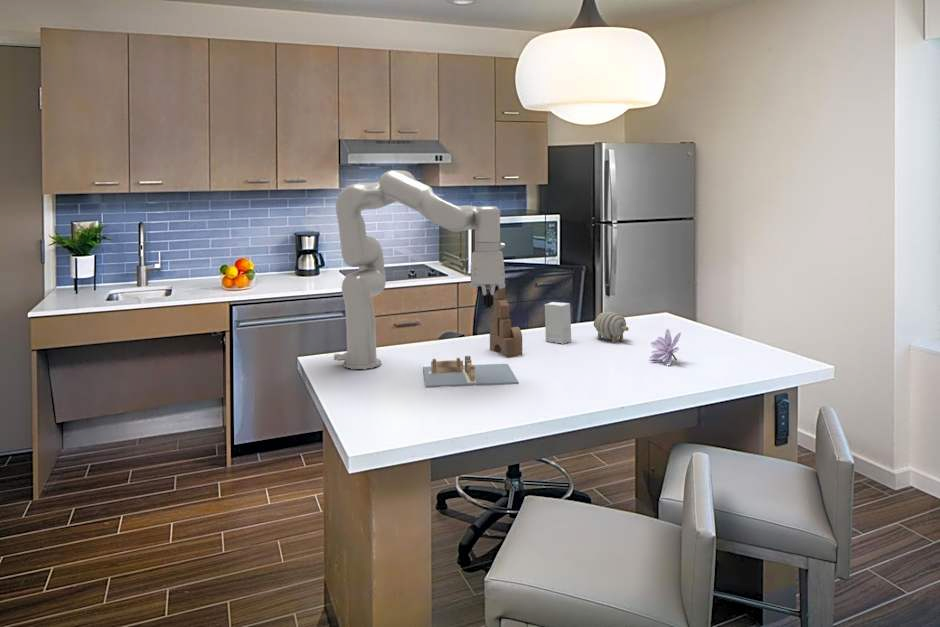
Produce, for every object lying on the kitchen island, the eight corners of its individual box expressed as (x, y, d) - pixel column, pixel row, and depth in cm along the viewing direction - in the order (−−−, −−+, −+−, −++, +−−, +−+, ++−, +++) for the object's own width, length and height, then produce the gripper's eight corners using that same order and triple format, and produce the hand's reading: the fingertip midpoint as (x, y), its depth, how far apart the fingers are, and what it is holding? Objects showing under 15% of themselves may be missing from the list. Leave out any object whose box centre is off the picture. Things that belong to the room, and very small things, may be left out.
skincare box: (571, 342, 271) (572, 303, 268) (562, 344, 267) (562, 305, 264) (553, 338, 277) (553, 300, 274) (544, 341, 272) (544, 302, 269)
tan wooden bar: (466, 372, 227) (466, 359, 226) (470, 371, 227) (470, 359, 226) (470, 380, 217) (470, 367, 216) (475, 380, 217) (474, 367, 217)
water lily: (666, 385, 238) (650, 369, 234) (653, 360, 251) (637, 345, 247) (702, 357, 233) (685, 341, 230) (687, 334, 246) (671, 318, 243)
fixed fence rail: (462, 370, 229) (462, 357, 228) (463, 371, 228) (462, 358, 227) (431, 371, 228) (431, 358, 227) (431, 372, 227) (431, 359, 226)
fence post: (465, 374, 228) (465, 357, 227) (464, 372, 230) (464, 356, 229) (471, 374, 228) (470, 357, 227) (470, 372, 230) (470, 355, 229)
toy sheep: (602, 335, 282) (603, 307, 280) (637, 342, 269) (638, 313, 267) (584, 339, 276) (585, 310, 274) (619, 346, 263) (620, 316, 261)
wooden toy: (523, 355, 251) (523, 284, 246) (506, 357, 248) (506, 286, 244) (504, 346, 265) (503, 279, 260) (487, 348, 262) (487, 280, 258)
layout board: (425, 387, 214) (425, 385, 214) (423, 368, 235) (422, 366, 235) (518, 383, 216) (518, 381, 216) (507, 365, 238) (507, 363, 238)
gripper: (510, 245, 221) (510, 304, 225) (461, 247, 220) (462, 306, 223) (514, 248, 214) (514, 308, 217) (464, 249, 213) (464, 310, 216)
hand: (488, 307), depth 220 cm, fingers closed
